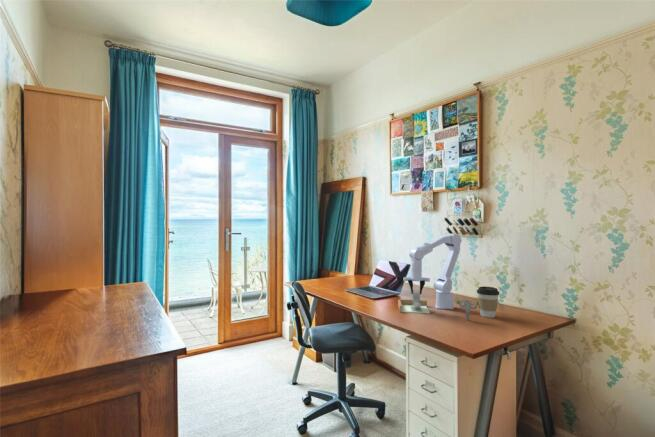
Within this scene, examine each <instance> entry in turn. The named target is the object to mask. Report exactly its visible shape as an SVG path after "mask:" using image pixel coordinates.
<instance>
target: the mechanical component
mask: <svg viewBox="0 0 655 437" xmlns="http://www.w3.org/2000/svg"><path fill="white" fill-rule="evenodd" d="M456 304H457V305H458V306H459V308H460V309H463V310H464V311H465V320H466V321H467V322H468V321H470V313H471V310H476V309H478V306H479V301H474V303H472V301H471V300H468V299H467V300H466V299H458V300H457V301H456ZM473 306H474V307H473Z"/></svg>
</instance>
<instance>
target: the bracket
mask: <svg viewBox="0 0 655 437" xmlns="http://www.w3.org/2000/svg"><path fill="white" fill-rule="evenodd" d="M420 296H421V294H420V289H413V294H411V300H412V304H413V309H421V301H420V300H421V298H420Z"/></svg>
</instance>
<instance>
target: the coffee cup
mask: <svg viewBox="0 0 655 437" xmlns="http://www.w3.org/2000/svg"><path fill="white" fill-rule="evenodd" d="M476 293H477V298H478V303H479V305H478V306H479V307H478V308H479V315H480V317H483V318H487V319H494V318H495V317H496V315H497V314H496V313H497V308H498V302H499V296H500V291H499V290H498V288H496V287H492V286H479V287H478V289H476Z"/></svg>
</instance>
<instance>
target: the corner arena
mask: <svg viewBox="0 0 655 437" xmlns="http://www.w3.org/2000/svg"><path fill="white" fill-rule="evenodd" d="M420 301H421V309H413V304H412V299H407V298H405V299H404V298H401V299H397V306H398V311H399V313H406V314H407V313H409V314H410V313H411V314H428V315H429V314H430V310H429V308H428V301H427V300H426V299H420Z"/></svg>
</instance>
